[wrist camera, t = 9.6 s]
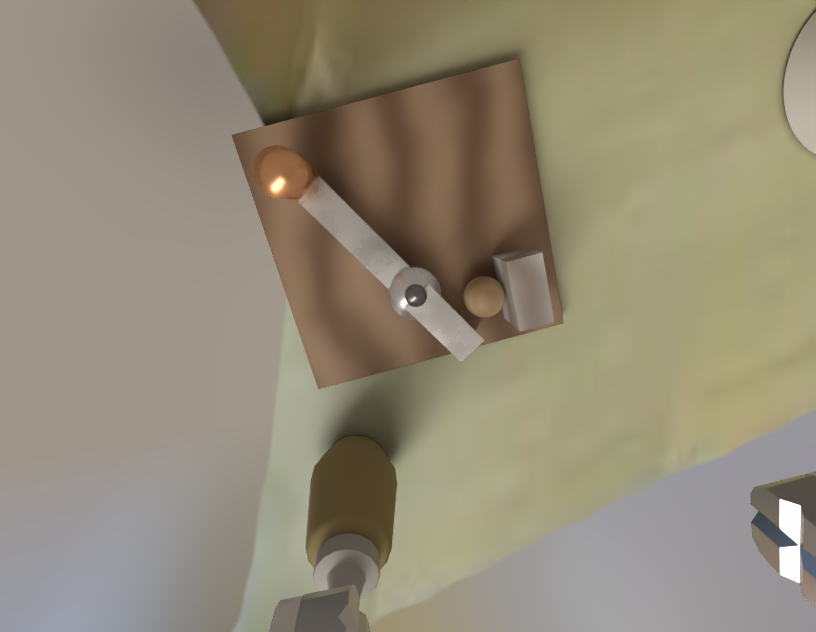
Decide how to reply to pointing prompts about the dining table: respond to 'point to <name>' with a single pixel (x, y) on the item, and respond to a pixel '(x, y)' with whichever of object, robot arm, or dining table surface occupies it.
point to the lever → (366, 247)
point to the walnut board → (413, 217)
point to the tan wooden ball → (484, 296)
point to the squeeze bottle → (351, 515)
